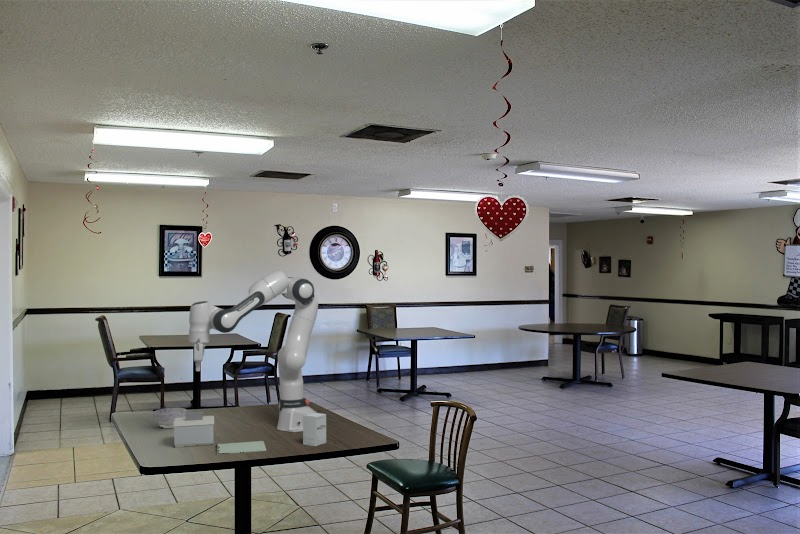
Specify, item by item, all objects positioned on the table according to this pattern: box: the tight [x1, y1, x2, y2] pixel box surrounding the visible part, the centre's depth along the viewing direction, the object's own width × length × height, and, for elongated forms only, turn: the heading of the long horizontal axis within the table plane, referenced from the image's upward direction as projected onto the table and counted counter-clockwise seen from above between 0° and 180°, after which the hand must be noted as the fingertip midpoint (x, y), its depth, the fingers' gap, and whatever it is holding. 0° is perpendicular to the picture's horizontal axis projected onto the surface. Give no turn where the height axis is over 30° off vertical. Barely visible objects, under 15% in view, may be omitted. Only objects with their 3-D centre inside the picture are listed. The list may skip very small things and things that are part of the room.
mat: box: [217, 440, 267, 454], centre depth 291 cm, size 20×16×1 cm
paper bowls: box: [153, 407, 188, 426], centre depth 334 cm, size 15×15×8 cm
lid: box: [173, 411, 215, 427], centre depth 300 cm, size 17×13×5 cm
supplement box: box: [302, 412, 327, 447], centre depth 297 cm, size 7×7×13 cm
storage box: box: [173, 424, 215, 445], centre depth 300 cm, size 16×12×9 cm
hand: (198, 369), depth 303 cm, fingers open, 8 cm apart
